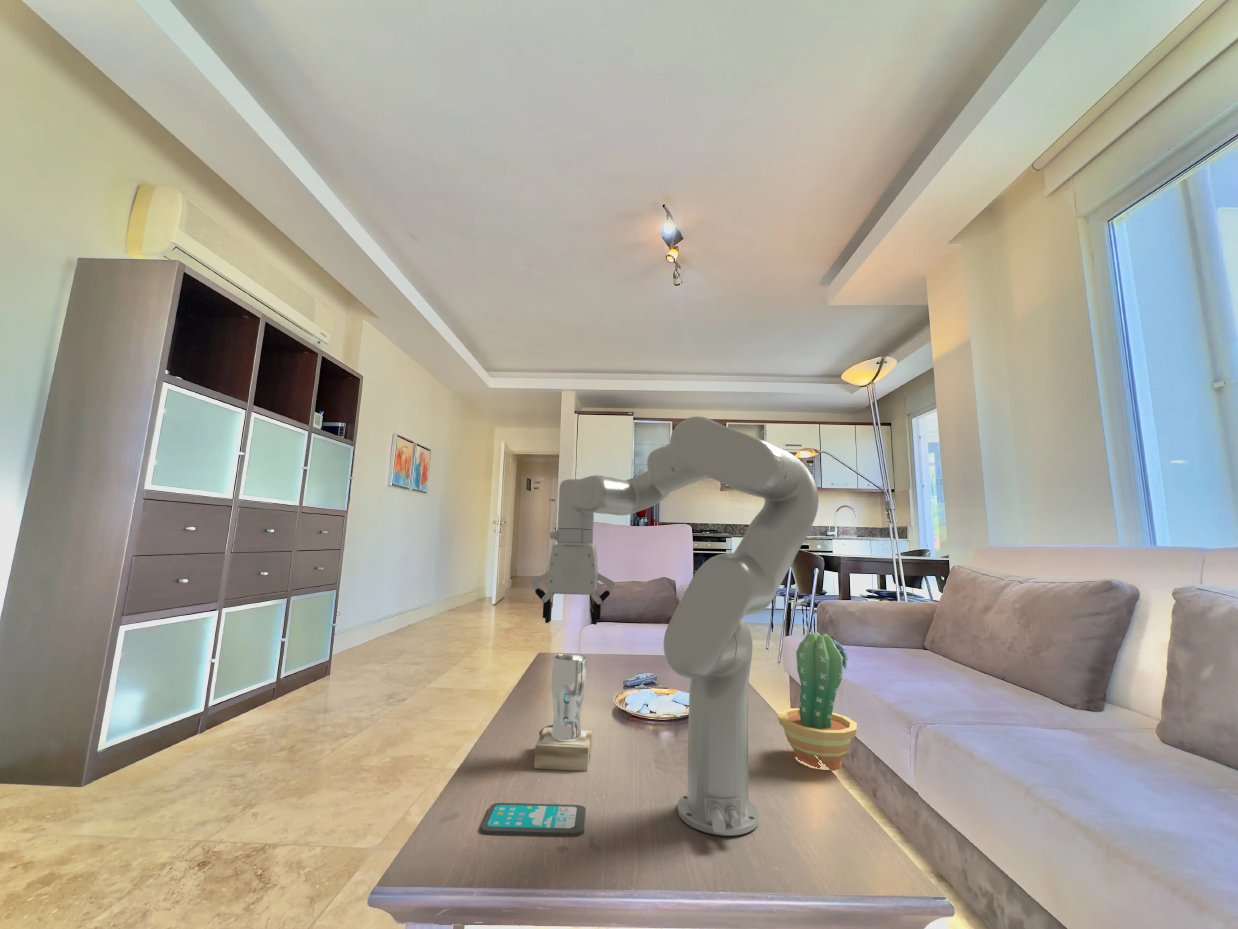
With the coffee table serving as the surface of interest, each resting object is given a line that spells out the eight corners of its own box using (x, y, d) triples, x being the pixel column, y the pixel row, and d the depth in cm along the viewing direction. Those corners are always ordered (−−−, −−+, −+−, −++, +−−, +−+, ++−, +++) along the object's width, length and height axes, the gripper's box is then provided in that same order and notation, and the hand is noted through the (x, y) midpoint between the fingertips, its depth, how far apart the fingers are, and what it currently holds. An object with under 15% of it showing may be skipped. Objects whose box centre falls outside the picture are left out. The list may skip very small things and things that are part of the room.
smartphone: (583, 832, 74) (479, 829, 74) (583, 840, 74) (478, 837, 74) (585, 803, 83) (492, 800, 83) (585, 810, 83) (491, 807, 83)
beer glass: (586, 731, 105) (589, 654, 108) (580, 744, 98) (584, 661, 101) (552, 729, 106) (556, 652, 108) (544, 741, 99) (549, 659, 101)
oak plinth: (587, 770, 96) (588, 747, 97) (534, 768, 97) (535, 744, 97) (591, 750, 106) (592, 728, 107) (543, 747, 107) (544, 726, 107)
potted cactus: (869, 782, 96) (863, 642, 100) (782, 772, 99) (780, 636, 103) (849, 751, 111) (845, 630, 114) (774, 743, 114) (773, 625, 118)
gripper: (530, 536, 105) (525, 624, 102) (615, 539, 104) (612, 627, 101) (537, 537, 112) (533, 619, 109) (616, 539, 112) (614, 621, 109)
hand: (571, 622), depth 105 cm, fingers open, 9 cm apart
